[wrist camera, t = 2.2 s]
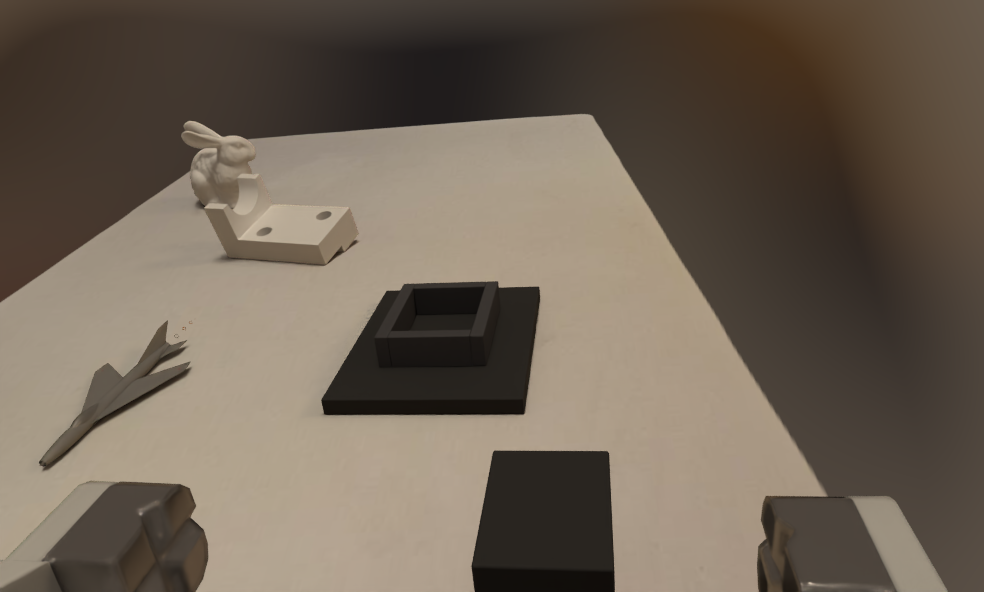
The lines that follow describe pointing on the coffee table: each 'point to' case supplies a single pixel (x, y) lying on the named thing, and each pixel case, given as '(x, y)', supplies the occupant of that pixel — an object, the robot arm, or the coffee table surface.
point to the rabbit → (217, 164)
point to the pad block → (546, 524)
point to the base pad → (441, 352)
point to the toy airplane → (117, 391)
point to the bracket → (280, 227)
